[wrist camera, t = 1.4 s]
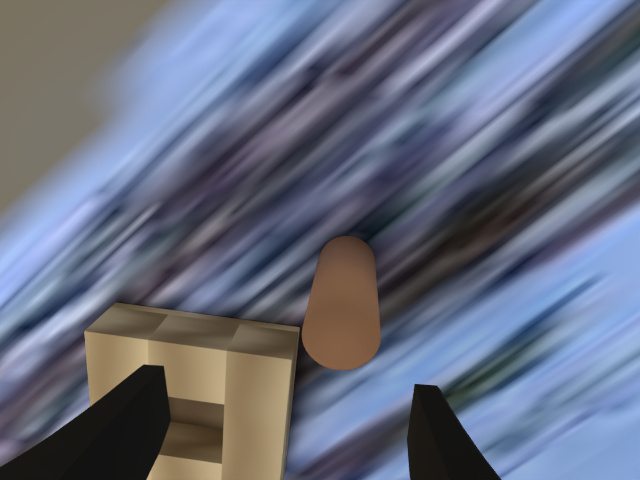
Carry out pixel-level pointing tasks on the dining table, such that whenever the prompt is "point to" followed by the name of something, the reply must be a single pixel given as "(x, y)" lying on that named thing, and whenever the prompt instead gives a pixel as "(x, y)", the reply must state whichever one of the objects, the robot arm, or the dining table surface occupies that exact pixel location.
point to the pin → (343, 306)
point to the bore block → (204, 387)
